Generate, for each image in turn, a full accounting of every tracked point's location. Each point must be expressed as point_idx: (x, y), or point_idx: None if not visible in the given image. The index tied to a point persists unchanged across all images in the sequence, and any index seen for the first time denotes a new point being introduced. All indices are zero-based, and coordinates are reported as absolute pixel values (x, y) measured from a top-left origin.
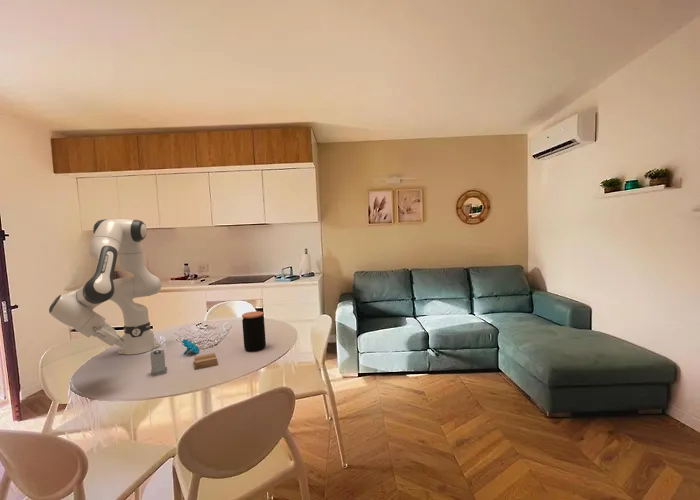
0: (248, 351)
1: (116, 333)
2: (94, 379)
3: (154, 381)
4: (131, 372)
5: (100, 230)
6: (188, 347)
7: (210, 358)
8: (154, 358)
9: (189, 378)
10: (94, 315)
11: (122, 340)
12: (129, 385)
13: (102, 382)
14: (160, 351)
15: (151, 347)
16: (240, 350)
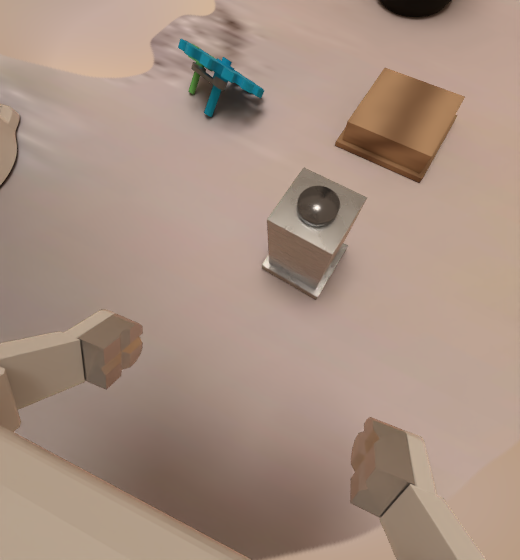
0: (420, 16)
1: (122, 517)
2: (75, 451)
3: (391, 322)
4: (177, 315)
5: None
6: (250, 83)
7: (440, 106)
8: (337, 248)
9: (496, 237)
10: None
11: (130, 343)
12: (331, 405)
13: (157, 452)
14: (335, 195)
15: (6, 135)
16: (380, 21)
